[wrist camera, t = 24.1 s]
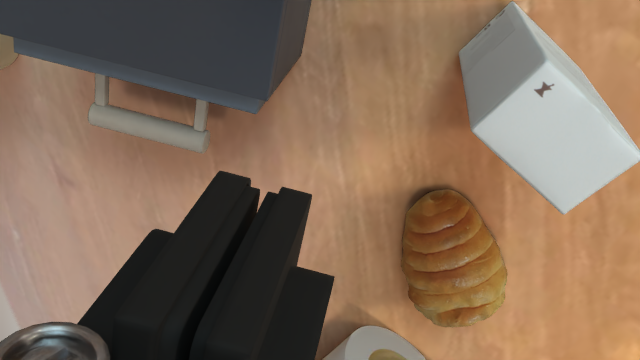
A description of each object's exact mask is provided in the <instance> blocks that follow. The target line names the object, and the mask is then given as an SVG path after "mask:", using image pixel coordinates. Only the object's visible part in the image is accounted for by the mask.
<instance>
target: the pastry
mask: <svg viewBox="0 0 640 360" xmlns="http://www.w3.org/2000/svg"><path fill="white" fill-rule="evenodd" d="M402 243H403V257H402V260H401V267H402V270H403V272H404V274H405V276H406V279H407V282H408V285H409V291H408V295H409V298H410V300H411V301H412V302H413V303H414V306H415V308H416V309H417V310H418V311H420V312H421V313H422V314H423V315H424V316H425V317H426V318H428V319H430V320H431V321H432V322H433V323H434V324H436V325H438V326H442V327H463V326H471V325H473V324H475V323H476V322H478V321H480V320H485V319H487V318H489V317H490V316H491V315H493V314H494V313H495V312H496V311H497V309H498V308H499V307H500V306H501V305H502V304H503V302H504V299H505V285H506V282H507V269H506V267H505V265H504V263H503V260H502V257H501V255H500V250H499V247H498V245H497V244H496V242H495V240H494V239H493V237H492V236H491V234H490V232H489V231H488V229H487V228H486V226H485V224H484V222H483V221H482V220H481V218H480V216H479V214H478V213H477V211H476V210H475V208H474V207H473V205H472V204H471V203H470V202H469V201H468V200H466V199H465V198H464V197H463V196H462V195H460V194H459V193H458V192H456V191H453V190H450V189H444V190H436V191H432V192H429V193H428V194H426V195H424V196H423V197H422V198H421V199H419V200H418V201H417V202H416V203H415V204H414V205H413V206H412V207H411V208H410V209H409V210H408V212H407V213H406V221H405V231H404V234H403V237H402Z"/></svg>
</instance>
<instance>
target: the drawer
mask: <svg viewBox="0 0 640 360" xmlns="http://www.w3.org/2000/svg"><path fill="white" fill-rule="evenodd" d="M13 42H14V52H15V53H18V54H22V55H26V56H30V57H34V58H38V59H42V60H46V61H50V62H54V63H58V64H61V65H65V66H69V67H73V68H77V69H81V70H85V71H89V72H93V73H95V102H94V103H93V104H92V105H91V107H90V109H89V112H88V121H89V123H90V124H91V125H95V126H99V127H102V128H106V129H110V130H114V131H118V132H122V133H125V134H129V135H133V136H137V137H141V138H145V139H149V140H152V141H156V142H160V143H164V144H168V145H172V146H176V147H179V148H183V149H187V150H191V151H195V152H199V153H205V152H206V150H207V148H208V145H209V141H210V131H209V130H205V129H206V123H207V115H208V106H209V102H211V103H214V104H218V105H222V106H226V107H230V108H234V109H238V110H242V111H246V112H250V113H254V114H257V113H258V111H259V110H260V109H261V107H262V106H263V105H264V103H265V102H266V101H263V100H259V99H255V98H251V97H247V96H243V95H239V94H235V93H231V92H227V91H223V90H219V89H216V88H212V87H208V86H204V85H200V84H196V83H192V82H188V81H184V80H180V79H176V78H172V77H168V76H164V75H160V74H156V73H152V72H148V71H144V70H141V69H137V68H133V67H129V66H125V65H121V64H117V63H113V62H109V61H105V60H101V59H97V58H93V57H89V56H85V55H81V54H77V53H73V52H69V51H66V50H62V49H58V48H54V47H50V46H46V45H42V44H38V43H34V42H30V41H26V40H22V39H18V38H14V37H13ZM109 77H112V78H116V79H120V80H124V81H128V82H132V83H136V84H140V85H144V86H148V87H152V88H156V89H160V90H163V91H167V92H171V93H175V94H179V95H183V96H187V97H191V98H195V99H196V108H195V118H194V127H193V126H190V125H186V124H182V123H178V122H174V121H170V120H166V119H162V118H159V117H155V116H151V115H147V114H143V113H139V112H135V111H131V110H127V109H124V108H120V107H116V106H112V105H108V102H109Z"/></svg>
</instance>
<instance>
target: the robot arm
mask: <svg viewBox="0 0 640 360" xmlns="http://www.w3.org/2000/svg"><path fill="white" fill-rule="evenodd" d="M259 196H260V189H257V188H253V187H251V180H250V178H247V177H243V176H239V175H235V174H232V173H228V172H224V171H219V172H218V173H217V174H216V176H215V177H214V178H213V180H212V181H211V183H210V184H209V185H208V187H207V188H206V190H205V191H204V192H203V194H202V195H201V196H200V198H199V199H198V201H197V202H196V203H195V205H194V206H193V208H192V209H191V210H190V212H189V213H188V215H187V216H186V217H185V219H184V220H183V221H182V223H181V224H180V226H179V227H178V228H177V230H176V231H175V233H170V232H167V231H163V230H159V229H154V230H152V231H151V232H150V233H149V234H148V235H147V236H146V238H145V239H144V240H143V241H142V243H141V244H140V245H139V246H138V248H137V249H136V250H135V252H134V253H133V254H132V255H131V257H130V258H129V259H128V260H127V262H126V263H125V264H124V265H123V267H122V268H121V269H120V270H119V272H118V273H117V274H116V276H115V277H114V278H113V279H112V281H111V282H110V283H109V284H108V286H107V287H106V288H105V289H104V291H103V292H102V293H101V294H100V296H99V297H98V298H97V300H96V301H95V302H94V303H93V305H92V306H91V307H90V308H89V310H88V311H87V312H86V313H85V315H84V316H83V317H82V319H81V320H80V321H79V322H78V324H74V323H70V322H48V323H42V324H36V325H32V326H29V327H27V328H24V329H21V330H19V331H16V332H15V333H13V334H11V335H10V336H8V337H7V338H5V339H4V340H2V341H1V342H0V360H315V355H316V351H317V347H318V343H319V339H320V335H321V331H322V327H323V323H324V319H325V315H326V310H327V306H328V302H329V298H330V294H331V290H332V286H333V282H334V276H330V275H327V274H323V273H319V272H316V271H312V270H308V269H304V268H301V267H297V262H298V257H299V253H300V249H301V244H302V240H303V235H304V231H305V226H306V222H307V217H308V213H309V208H310V204H311V199H312V194H308V193H304V192H300V191H297V190H293V189H289V188H285V187H282V188H281V189H280V191H279V193H278V194H276V193H272V192H268V193H267V194H266V196H265V198H264V200H263V202H262V204H261V206H260V208H259V210H258V212H257V208H258V202H259ZM256 213H257V214H256Z"/></svg>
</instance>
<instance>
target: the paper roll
mask: <svg viewBox="0 0 640 360" xmlns="http://www.w3.org/2000/svg"><path fill="white" fill-rule="evenodd" d="M17 56H18V53H15V52H14V42H13V37H10V36H6V35H2V34H0V70H1V69H3V68H5V67H7V66H9V65H10V64H12V63H13V62H14V61H15V59H16V58H17Z"/></svg>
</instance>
